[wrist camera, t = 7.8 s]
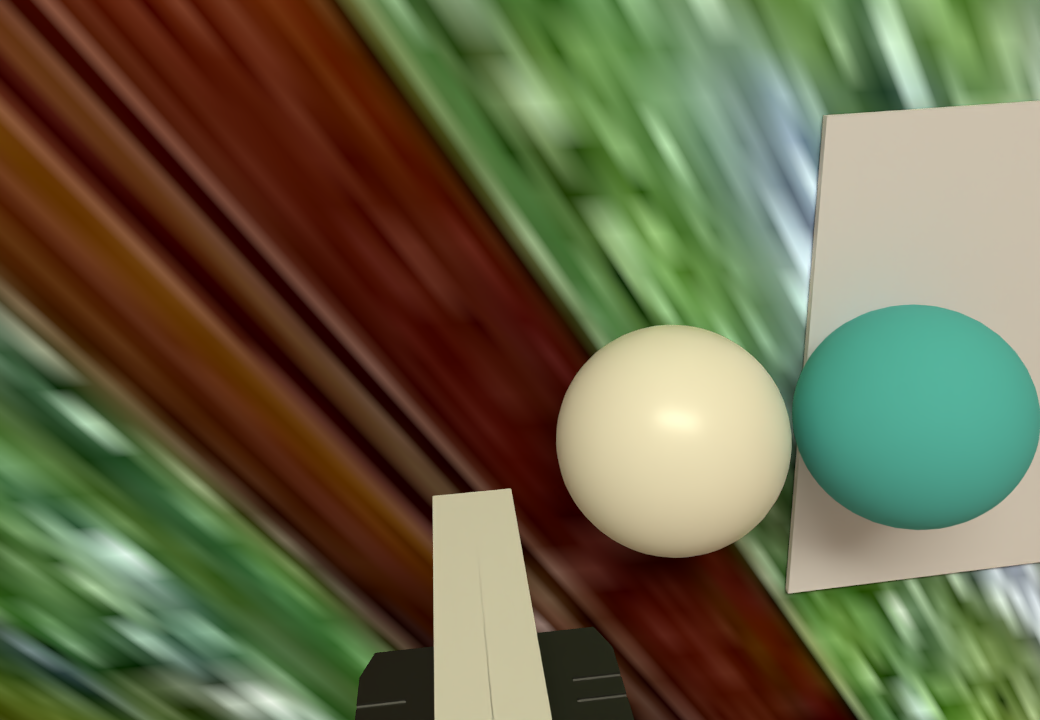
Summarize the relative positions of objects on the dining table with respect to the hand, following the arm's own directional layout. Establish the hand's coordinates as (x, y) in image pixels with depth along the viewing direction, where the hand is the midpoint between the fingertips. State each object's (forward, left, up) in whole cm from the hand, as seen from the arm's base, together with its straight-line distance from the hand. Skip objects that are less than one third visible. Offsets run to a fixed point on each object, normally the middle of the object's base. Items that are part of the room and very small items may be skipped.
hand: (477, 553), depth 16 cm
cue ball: (-5, 0, -4) cm, 6 cm away
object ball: (-11, 0, -4) cm, 12 cm away
